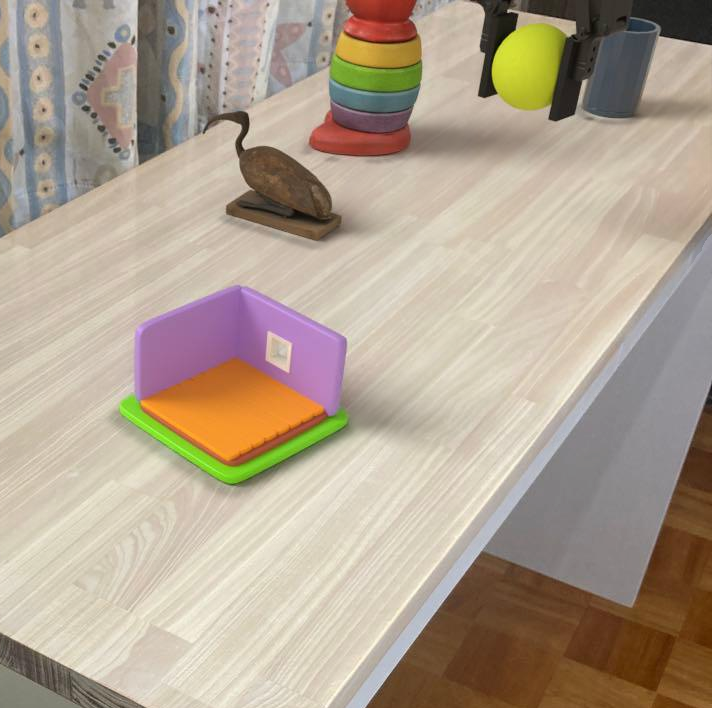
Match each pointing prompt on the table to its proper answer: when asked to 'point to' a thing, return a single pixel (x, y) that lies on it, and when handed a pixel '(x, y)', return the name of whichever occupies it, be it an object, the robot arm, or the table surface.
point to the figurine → (279, 189)
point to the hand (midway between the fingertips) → (525, 104)
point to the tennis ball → (528, 66)
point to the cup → (621, 70)
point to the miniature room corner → (236, 382)
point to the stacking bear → (372, 80)
